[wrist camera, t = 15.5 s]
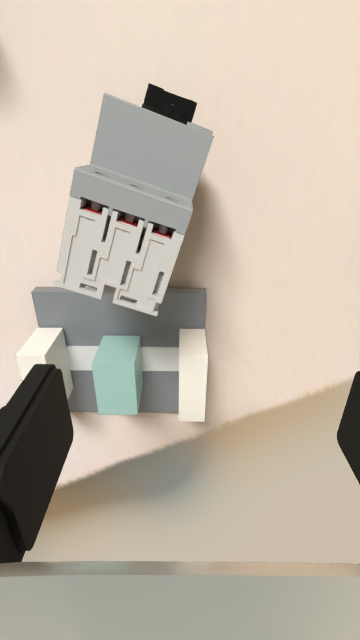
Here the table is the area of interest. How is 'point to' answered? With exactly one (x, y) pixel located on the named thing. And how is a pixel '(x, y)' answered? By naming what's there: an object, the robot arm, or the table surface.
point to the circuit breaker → (133, 200)
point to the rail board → (115, 320)
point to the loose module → (118, 375)
